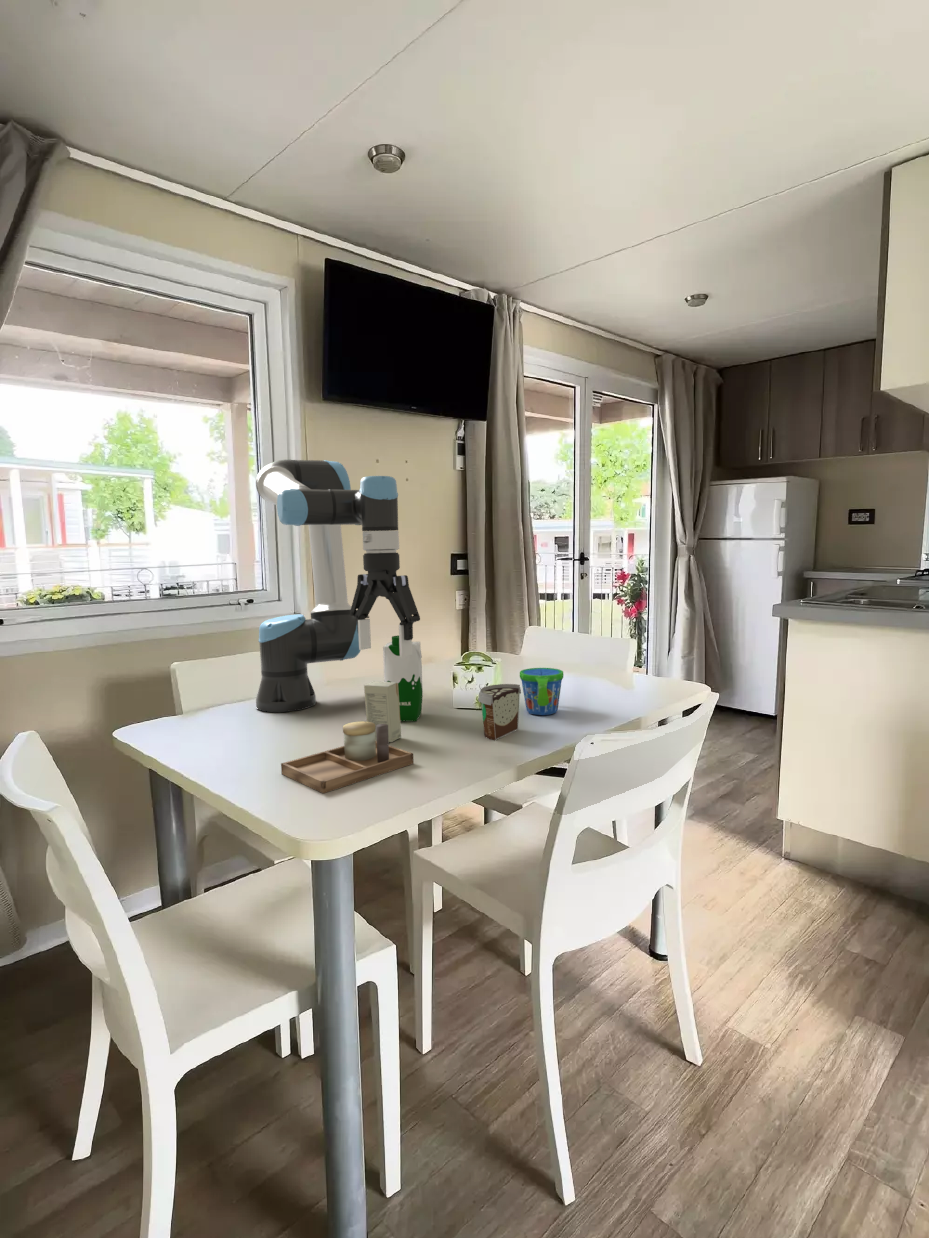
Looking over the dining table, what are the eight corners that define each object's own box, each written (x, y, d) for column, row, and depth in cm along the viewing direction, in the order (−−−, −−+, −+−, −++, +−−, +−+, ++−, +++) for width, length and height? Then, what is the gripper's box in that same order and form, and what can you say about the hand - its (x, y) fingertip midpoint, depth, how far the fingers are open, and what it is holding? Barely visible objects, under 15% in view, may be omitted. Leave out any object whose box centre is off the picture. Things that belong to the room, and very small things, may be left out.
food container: (498, 724, 151) (497, 681, 150) (521, 728, 147) (521, 684, 146) (467, 737, 141) (466, 692, 140) (491, 742, 137) (490, 695, 136)
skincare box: (402, 737, 142) (400, 682, 141) (391, 743, 138) (389, 686, 137) (376, 734, 145) (374, 680, 143) (365, 740, 141) (363, 684, 140)
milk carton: (382, 722, 154) (379, 638, 152) (390, 712, 163) (387, 632, 161) (419, 722, 154) (417, 637, 151) (425, 712, 163) (423, 632, 160)
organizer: (281, 773, 122) (279, 732, 121) (369, 748, 135) (368, 711, 134) (323, 793, 112) (321, 748, 111) (413, 763, 125) (412, 723, 125)
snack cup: (523, 703, 169) (522, 664, 168) (564, 704, 167) (564, 665, 166) (516, 720, 154) (516, 677, 152) (562, 721, 152) (562, 678, 150)
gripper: (331, 552, 143) (335, 648, 146) (407, 552, 126) (410, 661, 129) (359, 551, 149) (362, 644, 151) (435, 551, 131) (438, 655, 134)
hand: (384, 652), depth 140 cm, fingers open, 13 cm apart
